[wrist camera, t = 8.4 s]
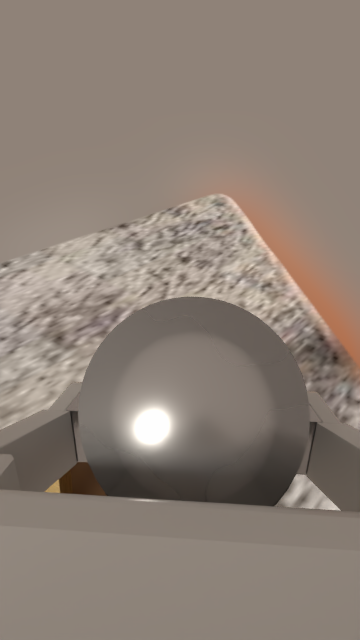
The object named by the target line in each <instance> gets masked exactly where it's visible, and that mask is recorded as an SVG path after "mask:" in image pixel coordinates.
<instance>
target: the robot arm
mask: <svg viewBox="0 0 360 640" xmlns="http://www.w3.org/2000/svg"><path fill="white" fill-rule="evenodd" d="M81 387H82V382H74V383H71V384H70V385H69V386H68V387H67V388H66V390H65V391H64V392H63V393H62V394H61V395H60V397H59V398H58V399H57V400H56V401H55V403H54V404H53V405H52V406H51V407H50V408H49V410H42V411H40V412H38V413H36V414H33V415H31V416H29V417H27V418H25V419H23V420H21V421H19V422H16V423H14V424H12V425H10V426H8V427H6V428H4V429H1V430H0V640H360V431H359V430H357V429H355V428H354V427H352V426H350V425H348V424H343V423H341V422H340V421H339V420H338V418H337V417H336V416H335V414H334V413H333V412H332V411H331V409H330V408H329V407H328V405H327V404H326V403H325V401H324V400H323V399H322V398H321V396H320V395H319V394H318V393H317V392H315V391H307V395H308V401H309V412H310V425H309V436H308V441H307V446H306V450H305V454H304V457H303V459H302V462H301V465H300V467H299V470H298V471H297V473H296V474H303V475H307V477H308V478H309V479H310V480H311V481H312V482H313V483H314V484H315V485H316V486H317V487H318V488H319V489H320V490H321V491H322V492H323V493H324V494H325V495H326V496H327V497H328V498H329V499H330V500H331V501H332V502H333V503H334V504H335V505H336V506H337V507H338V508H339V509H340V510H341V511H337V510H321V509H306V508H290V507H275V506H259V505H243V504H228V503H211V502H195V501H179V500H162V499H146V498H130V497H114V496H98V495H83V494H67V493H51V492H44V491H46V490H47V489H48V488H49V487H50V486H51V485H53V484H54V483H55V482H56V481H57V480H58V479H60V478H61V477H62V476H63V475H64V474H65V473H67V472H68V471H69V470H70V469H71V468H72V467H73V466H75V465H76V464H77V462H87V459H86V456H85V453H84V450H83V447H82V442H81V437H80V432H79V420H78V409H79V397H80V392H81Z"/></svg>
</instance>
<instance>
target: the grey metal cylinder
mask: <svg viewBox="0 0 360 640" xmlns="http://www.w3.org/2000/svg"><path fill="white" fill-rule="evenodd" d="M78 420H79V432H80V437H81V442H82V447H83V450H84V453H85V456H86V459H87V462H88V464H89V466H90V468H91V470H92V472H93V474H94V476H95V478H96V480H97V482H98V483H99V485H100V486H101V488H102V489H103V491H104V492H105V494H106V495H107V496H114V497H130V498H146V499H162V500H179V501H195V502H211V503H228V504H243V505H259V506H275V505H276V504H277V503H278V501H279V500H280V499H281V497H282V496H283V495H284V493H285V492H286V491H287V489H288V488H289V486H290V484H291V482H292V481H293V479H294V477H295V475H296V473H297V471H298V470H299V467H300V465H301V462H302V459H303V457H304V454H305V450H306V446H307V441H308V436H309V425H310V412H309V401H308V395H307V390H306V386H305V383H304V380H303V376H302V373H301V371H300V369H299V367H298V365H297V362H296V360H295V359H294V357H293V355H292V354H291V352H290V350H289V349H288V347H287V346H286V345H285V343H284V342H283V341H282V340H281V338H280V337H279V336H278V335H277V334H276V333H275V332H274V331H273V330H272V329H271V328H270V327H269V326H268V325H267V324H265V323H264V322H263V321H262V320H260V319H259V318H258V317H256V316H254V315H253V314H251V313H250V312H248V311H246V310H244V309H242V308H240V307H238V306H236V305H233V304H230V303H227V302H224V301H221V300H216V299H212V298H204V297H181V298H173V299H168V300H164V301H160V302H157V303H154V304H152V305H149V306H147V307H145V308H143V309H141V310H139V311H137V312H135V313H134V314H132V315H131V316H129V317H127V318H126V319H125V320H124V321H122V322H121V323H120V324H119V325H117V326H116V327H115V328H114V329H113V330H112V331H111V332H110V333H109V334H108V336H107V337H106V338H105V339H104V341H103V342H102V343H101V344H100V346H99V347H98V349H97V351H96V352H95V354H94V355H93V357H92V359H91V361H90V364H89V366H88V368H87V370H86V373H85V376H84V379H83V382H82V387H81V392H80V397H79V409H78Z"/></svg>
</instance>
